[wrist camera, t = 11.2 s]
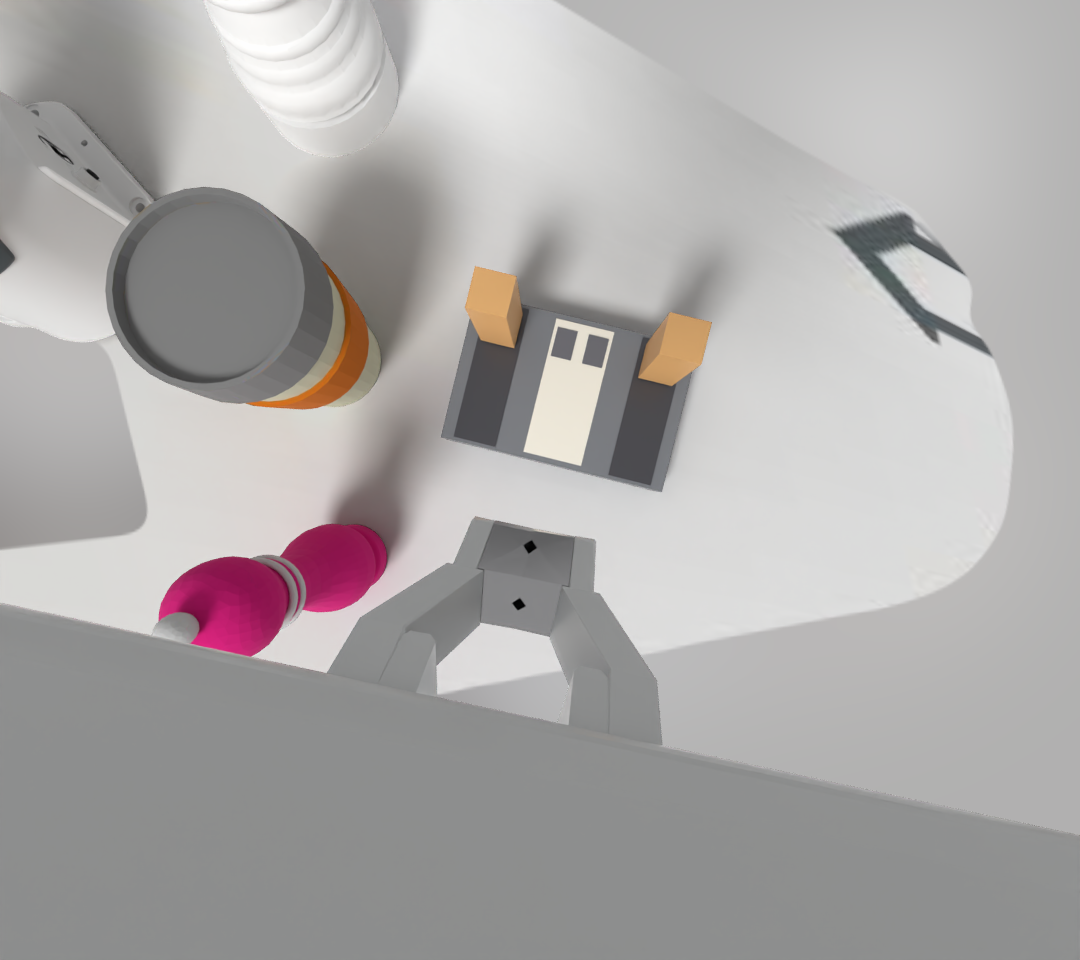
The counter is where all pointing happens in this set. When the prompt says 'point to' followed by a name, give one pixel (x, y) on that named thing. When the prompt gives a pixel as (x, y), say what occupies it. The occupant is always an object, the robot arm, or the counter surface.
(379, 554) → the pepper mill
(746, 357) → the counter surface
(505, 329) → the slider
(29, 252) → the robot arm
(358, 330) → the reusable coffee cup
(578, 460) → the switch panel
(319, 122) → the honey pot
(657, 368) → the slider
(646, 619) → the counter surface
